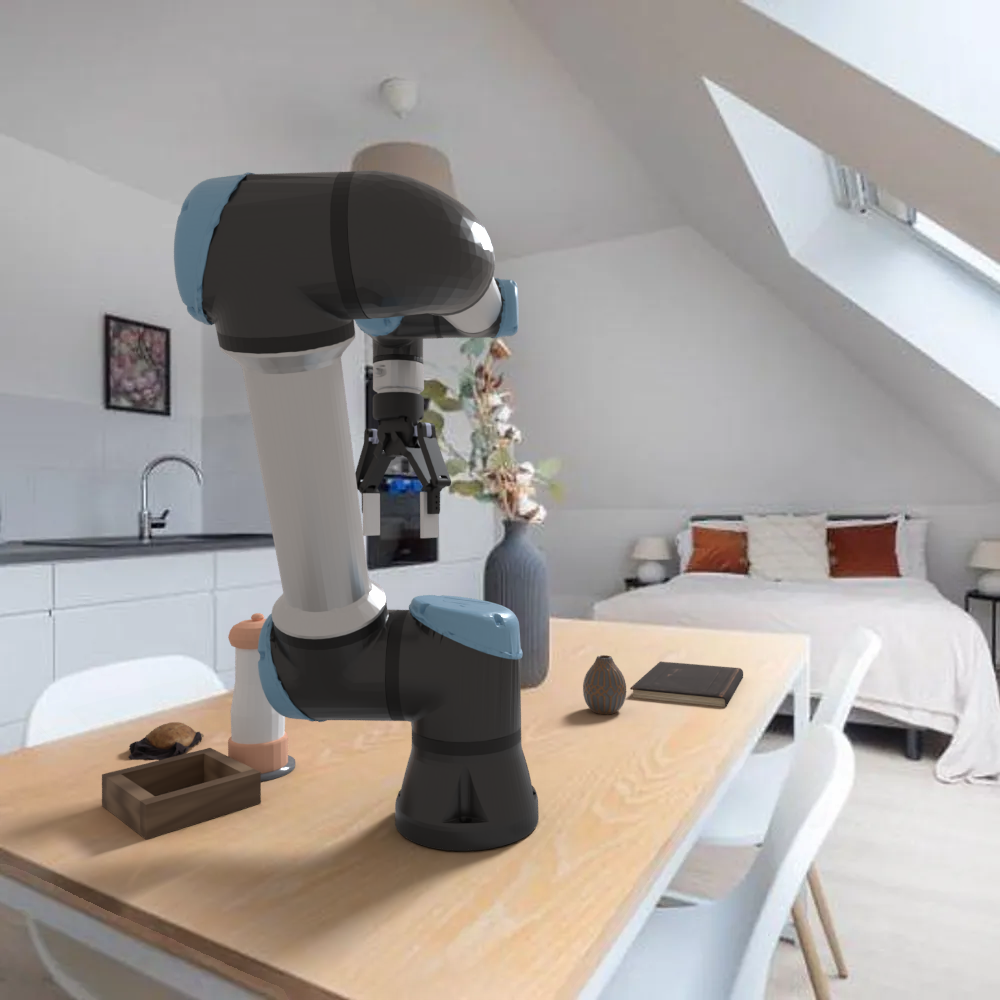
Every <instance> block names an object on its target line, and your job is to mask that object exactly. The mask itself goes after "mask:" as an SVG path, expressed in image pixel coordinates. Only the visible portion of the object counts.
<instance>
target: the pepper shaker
mask: <svg viewBox="0 0 1000 1000" xmlns="http://www.w3.org/2000/svg"><path fill="white" fill-rule="evenodd" d="M266 619H267V618H265V616H264V614H263V613H261V612H255V613H253V614H251V616H250V619H245V620H242V621H239V622H237V623H236V624H234V625H233V626H232V627H231V629H230V630H229V634H228V635H227V636H228V641H229V643H230V645H231V647H233V648H235V649H234V653H235V655H234V656H235V657H234V660H235V661H234V664H235V666H234V668H235V669H234V671H235V673H234V677H235V678H234V687H233V693H232V698H231V699H232V700H231V707H230V730H231V731H230V732H231V733H230V734H231V736H230V737H229V738H228V739H227V756H228V757H230V758H233V759H235V760H237V761H239V762H241V763H243V764H245V765H247V766H249V767H251V768H253V769H255V770H257V771H259V772H261V773H267V772H271V771H275V770H278V769H280V768H282V767H284V766H285V765H286V764H287V763H288V755H289V736H288V732H286V731H285V730H286V729H285V728H286V717H284V716H282V715H280V714H279V713H278V712H276V711H275V710H274V709H273V707H272V706H271V705H270V703H269V702H268V700H267V698H266V696H265V694H264V691H263V689H262V685H261V681H260V677H259V671H258V661H259V660H260V654H259V652H258V642H259V636H260V632H261V629H262V626H263V624H264V622H265V620H266Z"/></svg>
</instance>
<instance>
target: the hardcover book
mask: <svg viewBox="0 0 1000 1000" xmlns="http://www.w3.org/2000/svg"><path fill="white" fill-rule="evenodd" d="M743 678H744V670H743V669H742V668H740V667H732V666H722V665H721V666H720V665H707V664H695V663H685V662H684V663H683V662H672V661H671V662H669V661H659V662H658V663H657V664H656V665H654V666H653V667H652V668H651V669H650V670H648V671H647V672H646V674H645V675H643V676H642V677H640V679H639V680H637V681H636V682H635V683H634V684H633V685H632V686H630V688H629V690H632V698H634V699H645V700H652V701H663V702H671V703H684V704H693V705H702V706H712V707H722V708H723V707H724V708H727V707H728V705H729V703H730V701H731V699H732V698H733V696H734V695H735V693H736V691H737V689H738V687H739V685H740V684H741V682H742V681H743Z"/></svg>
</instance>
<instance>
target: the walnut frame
mask: <svg viewBox="0 0 1000 1000" xmlns="http://www.w3.org/2000/svg"><path fill="white" fill-rule="evenodd" d="M261 782H262V781H261V772H259V771H257V770H255V769H253V768H251V767H249V766H247V765H245V764H243V763H241V762H239V761H237V760H235V759H233V758H230V757H228V755H227V754H224V753H222V752H220V751H218V750H216V749H213V748H212V747H207V748H203V749H199V750H195V751H192V752H188V753H186V754H183V755H178V756H174V757H170V758H166V759H162V760H153V761H150V762H147V763H142V764H139V765H135V766H130V767H126V768H122V769H117V770H114V771H110V772H106V773H102V774H101V806H102V808H104V809H105V810H107V811H108V812H109V813H111V814H112V815H113V816H115V817H116V818H117V819H118V820H120V821H121V822H122V823H124V824H125V825H127V826H128V827H129V828H130V829H132V831H134V832H135V833H136V834H138V835H139V836H141V837H142V838H143V839H145V840H149V839H153V838H156V837H159V836H162V835H164V834H168V833H171V832H175V831H179V830H181V829H185V828H187V827H189V826H190V827H191V826H193V825H194V826H195V825H197V824H199V823H202V822H206V821H209V820H212V819H215V818H218V817H221V816H225V815H228V814H230V813H235V812H238V811H241V810H243V809H247V808H249V807H250V808H251V807H253V806H254V807H255V806H257V805H260V804H261V803H262V796H261V793H262V791H261V789H262V787H261V786H262V783H261Z"/></svg>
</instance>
